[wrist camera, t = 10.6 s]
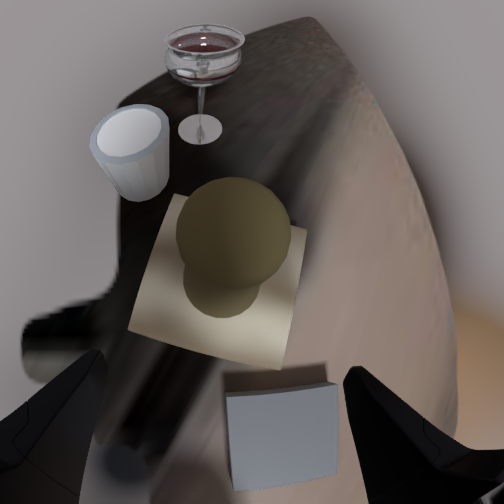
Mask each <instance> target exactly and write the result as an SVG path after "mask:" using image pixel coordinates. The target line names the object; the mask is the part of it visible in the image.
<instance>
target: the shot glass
mask: <svg viewBox="0 0 504 504" xmlns="http://www.w3.org/2000/svg"><path fill="white" fill-rule="evenodd" d="M90 149H91V151H92V153H93V155H94V157H95V159H96V160H97V162H98V163H99V165H100V166H101V168H102V169H103V171H104V172H105V174H106V175H107V177H108V178H109V179H110V181H111V182H112V184H113V185H114V187H115V188H116V190H117V191H118V192H119V194H120V195H121V196H122V197H124V198H125V199H127V200H129V201H136V202H141V201H145V200H149V199H151V198H153V197H155V196H156V195H158V194H159V193H160V192H161V191H162V190H163V189H164V187H165V186H166V185H167V181H168V178H169V121H168V117H167V116H166V115H165V113H164V112H163V111H162V110H161V109H159V108H156V107H154V106H151V105H142V104H135V105H131V106H126V107H122V108H120V109H118V110H116V111H114V112H112V113H110V114H108V115H107V116H106V117H105V118H104V119H103V120H102V121H100V122H99V123H98V124H97V126H96V127H95V129H94V131H93V133H92V134H91V138H90Z"/></svg>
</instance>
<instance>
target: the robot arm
mask: <svg viewBox="0 0 504 504" xmlns="http://www.w3.org/2000/svg"><path fill="white" fill-rule="evenodd" d="M106 373H107V364H106V361H105V358H104V355H103V352H102V351H101V350H98V349H93V348H92V349H90V350H88V351H87V352H86V353H85V354H83V355H82V356H81V357H80V358H78V359H77V360H76V361H75V362H73V363H72V364H71V365H70V366H69V367H67V368H66V369H65V370H64V371H62V372H61V373H60V374H59V375H57V376H56V377H55V378H54V379H53V380H51V381H50V382H49V383H48V384H46V385H45V386H44V387H43V388H42V389H40V390H39V391H38V392H37V393H36V394H34V395H33V396H32V397H31V398H30V399H29V400H28V401H26V402H25V403H24V404H23V405H21V406H20V407H19V408H17V410H15V411H14V412H12V413H11V414H10V415H8V416H7V417H6V418H4V419H3V420H1V421H0V504H79V496H80V491H81V485H82V479H83V475H84V470H85V465H86V460H87V456H88V452H89V447H90V443H91V439H92V435H93V431H94V428H95V424H96V420H97V417H98V413H99V409H100V405H101V400H102V394H103V389H104V383H105V378H106ZM343 388H344V394H345V401H346V407H347V414H348V419H349V423H350V427H351V431H352V435H353V439H354V443H355V446H356V450H357V454H358V459H359V463H360V467H361V471H362V475H363V480H364V484H365V489H366V493H367V498H368V503H369V504H504V449H500V450H473V449H470V448H467V447H465V446H463V445H462V444H460V443H459V442H457V441H456V440H454V439H453V438H451V437H449V436H448V435H446V434H445V433H443V432H442V431H441V430H439V429H438V428H436V427H435V426H434V425H433V424H431V423H430V422H429V421H427V420H426V419H425V418H423V417H422V416H421V415H420V414H419V413H418V412H416V411H415V410H414V409H413V408H412V407H410V406H409V405H408V404H407V403H406V402H404V401H403V400H402V399H401V398H399V397H398V396H397V395H396V394H395V393H393V392H392V391H391V390H390V389H389V388H387V387H386V386H385V385H384V384H383V383H381V382H380V381H379V380H378V379H377V378H376V377H374V376H373V375H372V374H371V373H370V372H368V371H367V370H366V369H365V368H364V367H362V366H353V367H351V368H350V370H349V371H348V373H347V375H346V377H345V379H344V381H343Z"/></svg>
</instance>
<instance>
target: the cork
mask: <svg viewBox="0 0 504 504" xmlns="http://www.w3.org/2000/svg"><path fill="white" fill-rule="evenodd" d="M176 242H177V245H178V249H179V253H180V256H181V259H182V260H183V262H184V263H185V268H184V273H183V286H184V289H185V293H186V296H187V298H188V299H189V300H190V302H191V303H192V305H193V306H194V307H195V308H196V309H198V310H199V311H201V312H202V313H203V314H205V315H208V316H211V317H214V318H230V317H233V316H236V315H239V314H241V313H243V312H244V311H245V310H247V309H248V308H249V307H251V305H252V304H253V302H254V301H255V299H256V298H257V296H258V292H259V289H260V285H261V284H262V283H263V282H265V281H266V280H267V279H269V278H270V277H271V276H273V275H274V274H275V273H276V272H277V271H278V269H279V268H280V266H281V265H282V263H283V262H284V260H285V259H286V257H287V254H288V250H289V246H290V242H291V226H290V219H289V217H288V214H287V212H286V210H285V207H284V205H283V204H282V203H281V202H280V200H279V199H278V198H277V197H276V196H275V195H274V193H273V192H272V191H271V190H269V189H268V188H266V187H265V186H263V185H262V184H260V183H259V182H256V181H253V180H250V179H246V178H241V177H226V178H221V179H217V180H213V181H210V182H208V183H207V184H205V185H203V186H201V187H200V188H198V189H196V190H195V191H194V192H193V193H192V194H191V196H190V197H189V198H188V199H187V200H186V201H185V203H184V205H183V207H182V210H181V212H180V214H179V216H178V219H177V225H176Z"/></svg>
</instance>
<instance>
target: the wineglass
mask: <svg viewBox="0 0 504 504" xmlns="http://www.w3.org/2000/svg"><path fill="white" fill-rule="evenodd" d="M244 40H245V38H244V36H243V35H242V33H240V32H239V31H237V30H236V29H233V28H231V27H228V26H223V25H218V24H194V25H188V26H184V27H181V28H178V29H175V30H174V31H172V32H170V33H169V34H168V35H167V36H166V37H165V44H166V45H167V47H168V49H167V50H166V53H165V64H166V68H167V70H168V72H169V73H170V75H171V76H172V77H173V78H174V79H175V80H177V81H179V82H181V83H183V84H185V85H187V86H190V87H193V88H197V89H198V114H197V115H192V116H189V117H187V118H186V119H184V120H183V121H182V122H181V123H180V125H179V128H178V133H179V135H180V137H181V138H182V139H183V140H185V141H186V142H189V143H191V144H199V145H200V144H207V143H210V142H213V141H214V140H216V139H217V138H218V137H219V136H220V134H221V132H222V126H221V123H220V122H219V121H218V120H217V119H216V118H214V117H212V116H210V115H205V114H203V106H204V97H205V88H209V87H212V86H216V85H218V84H220V83H222V82H223V81H225V80H227V79H229V78H231V77H232V76H233V75H234V74H235V72H236V71H237V70H238V69H239V67H240V64H241V59H242V51H241V49H240V46H241V45H242V44H243V43H244Z"/></svg>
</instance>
